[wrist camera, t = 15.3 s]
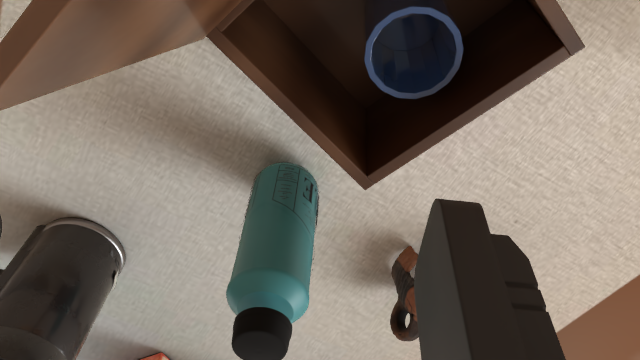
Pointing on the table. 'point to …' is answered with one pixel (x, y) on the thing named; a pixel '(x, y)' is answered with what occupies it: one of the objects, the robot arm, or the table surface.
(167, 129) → the table surface
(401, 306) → the broken pottery
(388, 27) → the cup
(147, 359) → the cracker box
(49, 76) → the lid
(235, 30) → the chest
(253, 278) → the beverage bottle
